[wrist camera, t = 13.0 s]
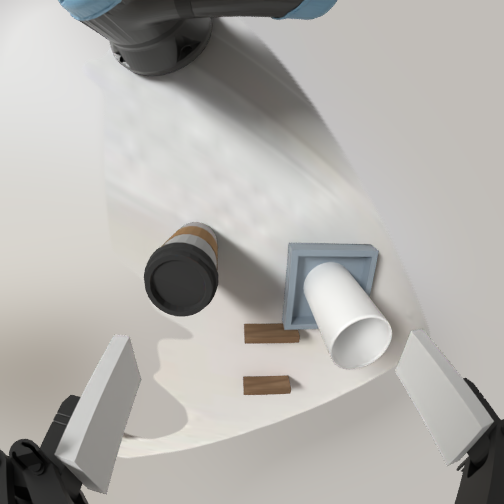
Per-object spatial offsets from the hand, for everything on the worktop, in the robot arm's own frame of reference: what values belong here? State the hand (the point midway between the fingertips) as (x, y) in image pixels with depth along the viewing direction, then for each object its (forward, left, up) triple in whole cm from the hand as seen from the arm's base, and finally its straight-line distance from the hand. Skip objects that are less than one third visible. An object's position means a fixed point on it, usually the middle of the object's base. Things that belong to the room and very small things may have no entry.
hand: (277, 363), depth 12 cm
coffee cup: (+5, -8, -32) cm, 33 cm away
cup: (+12, +13, -31) cm, 36 cm away
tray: (+12, +13, -32) cm, 36 cm away
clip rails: (+27, +4, -32) cm, 42 cm away
